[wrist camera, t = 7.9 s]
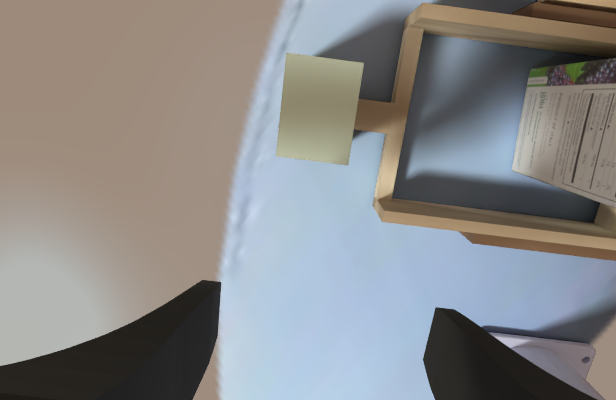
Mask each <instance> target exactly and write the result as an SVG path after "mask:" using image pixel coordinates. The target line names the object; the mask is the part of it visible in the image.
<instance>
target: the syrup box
mask: <svg viewBox="0 0 616 400" xmlns="http://www.w3.org/2000/svg"><path fill="white" fill-rule="evenodd" d="M512 170H513V171H515V172H517V173H520V174H523V175H525V176H528V177H531V178H534V179H537V180H539V181H541V182H545V183H547V184H550V185H553V186H555V187H558V188H561V189H563V190H566V191H569V192H572V193H575V194H578V195H580V196H583V197H586V198H588V199H591V200H594V201H597V202H600V203H602V204H605V205H608V206H611V207H614V208H616V58H611V59H603V60H595V61H588V62H580V63H572V64H564V65H556V66H548V67H540V68H532V69H531V70H530V73H529V77H528V83H527V88H526V93H525V98H524V104H523V109H522V114H521V119H520V125H519V130H518V136H517V142H516V148H515V154H514V160H513V165H512Z"/></svg>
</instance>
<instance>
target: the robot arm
mask: <svg viewBox="0 0 616 400" xmlns="http://www.w3.org/2000/svg"><path fill="white" fill-rule="evenodd" d="M220 292H221V282H215V281H207V280H202V281H200V282H199V283H197V284H196V285H194V286H192V287H191V288H189V289H188V290H187V291H185V292H183V293H182V294H180V295H179V296H177V297H175V298H174V299H172V300H171V301H169V302H168V303H166V304H164V305H163V306H161V307H159V308H157V309H156V310H154V311H152V312H150V313H148V314H147V315H145V316H143V317H141V318H140V319H138V320H136V321H134V322H132V323H130V324H128V325H126V326H123V327H121V328H119V329H117V330H114V331H112V332H110V333H108V334H105V335H103V336H100V337H98V338H95V339H92V340H89V341H87V342H84V343H81V344H78V345H76V346H73V347H70V348H67V349H64V350H61V351H57V352H54V353H51V354H47V355H44V356H40V357H36V358H33V359H29V360H26V361H22V362H17V363H13V364H8V365H4V366H0V400H192V399H193V397H194V395H195V393H196V391H197V389H198V386H199V384H200V382H201V380H202V378H203V375H204V373H205V371H206V369H207V366H208V364H209V361H210V358H211V355H212V352H213V349H214V346H215V342H216V339H217V336H218V322H219V307H220ZM594 356H595V349H594V348H593V347H592V346H591V345H590V344H587V343H579V342H570V341H561V340H553V339H544V338H536V337H527V336H519V335H510V334H501V333H493V332H487V331H485V330H484V329H483V328H481V327H480V326H478V325H477V324H476V323H474V322H473V321H471V320H470V319H468V318H467V317H465V316H464V315H462V314H461V313H459V312H457V311H456V310H453V309H445V308H436V309H435V313H434V317H433V321H432V325H431V329H430V333H429V337H428V341H427V345H426V350H425V354H424V358H423V361H424V365H425V369H426V373H427V377H428V380H429V384H430V387H431V390H432V393H433V395H434V398H435V400H605V399H604V398H603V397H602V396H601V395H600V394H599V393H598V392H597V391H596V390H595V389H594V388H593V387H592V386H591V385H590V384H589V383H588V382H587V381H586V380H585V379H586V376H587V373H588V371H589V369H590V366H591V363H592V361H593V358H594ZM584 357H585V358H584Z"/></svg>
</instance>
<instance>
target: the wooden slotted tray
mask: <svg viewBox="0 0 616 400" xmlns="http://www.w3.org/2000/svg"><path fill="white" fill-rule="evenodd" d="M423 33H426V34H433V35H441V36H448V37H456V38H463V39H470V40H478V41H485V42H493V43H500V44H508V45H515V46H523V47H530V48H537V49H545V50H552V51H560V52H567V53H575V54H582V55H590V56H597V57H604V58H616V29H613V28H606V27H599V26H591V25H584V24H577V23H569V22H562V21H555V20H547V19H540V18H533V17H525V16H518V15H511V14H503V13H496V12H489V11H481V10H474V9H466V8H459V7H452V6H444V5H437V4H430V3H422V4H421V5H420V6H419V7H418V8H417V9H415V10H414V11H413V12H412V13H411V14H410V15H409V16H408V17H407V18H406V21H405V26H404V32H403V38H402V43H401V49H400V54H399V60H398V66H397V71H396V77H395V83H394V88H393V94H392V99H391V103H389V102H381V101H373V100H366V99H359V92H360V86H361V79H362V73H363V66H364V63H360V62H353V61H345V60H338V59H330V58H322V57H315V56H307V55H300V54H292V53H286V63H285V73H284V82H283V92H282V102H281V112H280V122H279V132H278V141H277V151H276V156H279V157H287V158H295V159H303V160H311V161H319V162H326V163H334V164H342V165H348V163H349V157H350V150H351V144H352V137H353V131H354V129H355V130H363V131H370V132H378V133H385V139H384V144H383V150H382V156H381V161H380V167H379V172H378V178H377V184H376V189H375V195H374V201H373V207H374V209H375V211H376V212H377V214H378V216H379V217H380V219H381V221H382V222H388V223H396V224H404V225H412V226H421V227H429V228H437V229H445V230H453V231H461V232H470V233H478V234H486V235H494V236H502V237H510V238H519V239H527V240H535V241H543V242H551V243H559V244H568V245H576V246H584V247H592V248H600V249H608V250H616V208H614V207H611V206H608V205H605V204H602V203H600V206H599V209H598V212H597V215H596V217H595V220H594V223H589V222H580V221H572V220H564V219H556V218H548V217H540V216H532V215H524V214H516V213H508V212H500V211H492V210H484V209H476V208H468V207H460V206H451V205H443V204H435V203H427V202H419V201H411V200H403V199H395V198H392V194H393V189H394V183H395V178H396V173H397V168H398V162H399V157H400V152H401V147H402V141H403V136H404V131H405V126H406V121H407V115H408V110H409V105H410V100H411V94H412V89H413V84H414V79H415V73H416V68H417V63H418V58H419V53H420V47H421V42H422V37H423Z"/></svg>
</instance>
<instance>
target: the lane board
mask: <svg viewBox="0 0 616 400" xmlns="http://www.w3.org/2000/svg"><path fill="white" fill-rule="evenodd" d="M512 15H518V16H525V17H533V18H540V19H547V20H555V21H562V22H569V23H577V24H584V25H591V26H599V27H606V28H613V29H616V13H609V12H602V11H594V10H587V9H580V8H573V7H565V6H558V5H551V4H543V3H536V2H535V3H532V4H530V5H528V6H526V7H524V8H521V9H519V10H517V11H515V12H512ZM459 232H460V233H461V234H462V235H463V236H465V237H466V238H467V239H468V240H469V241H470V242H471V243H474V244H482V245H491V246H499V247H507V248H515V249H523V250H532V251H540V252H548V253H556V254H564V255H573V256H581V257H589V258H597V259H605V260H614V261H616V250H608V249H600V248H592V247H584V246H576V245H568V244H559V243H551V242H543V241H535V240H527V239H519V238H510V237H502V236H494V235H486V234H478V233H470V232H461V231H459Z"/></svg>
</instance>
